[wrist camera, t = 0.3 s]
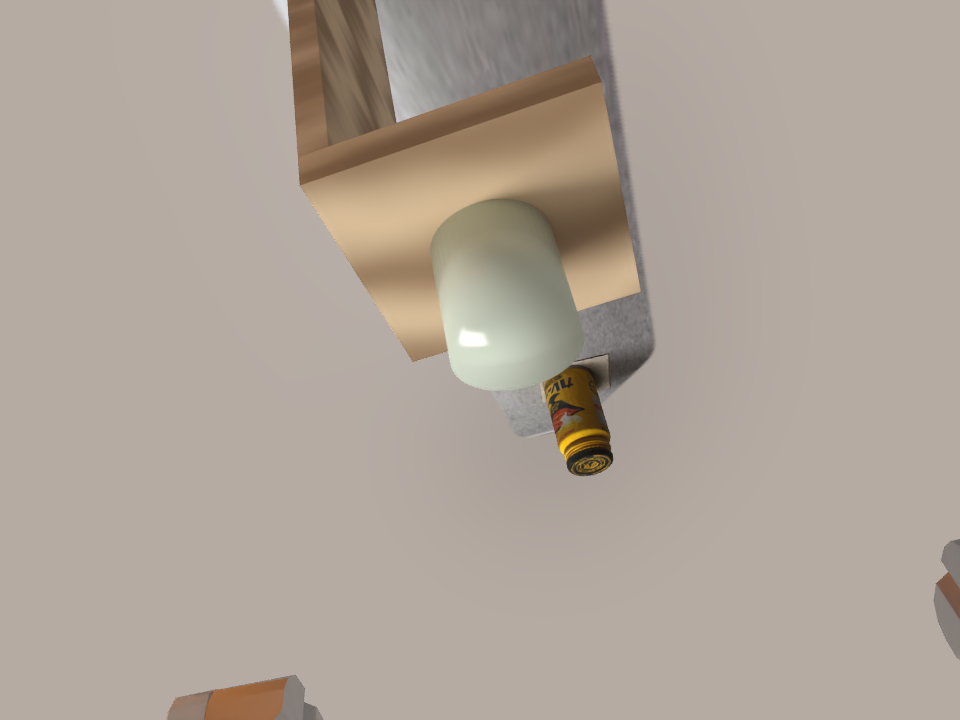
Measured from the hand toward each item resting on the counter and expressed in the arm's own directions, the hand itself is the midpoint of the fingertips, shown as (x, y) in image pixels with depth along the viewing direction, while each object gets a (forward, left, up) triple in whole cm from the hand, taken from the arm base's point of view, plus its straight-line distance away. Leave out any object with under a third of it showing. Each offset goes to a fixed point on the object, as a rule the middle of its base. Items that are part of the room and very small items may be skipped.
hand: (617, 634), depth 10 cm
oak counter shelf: (+12, +8, -50) cm, 52 cm away
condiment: (+56, +49, -51) cm, 90 cm away
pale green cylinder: (+12, +8, -20) cm, 24 cm away
